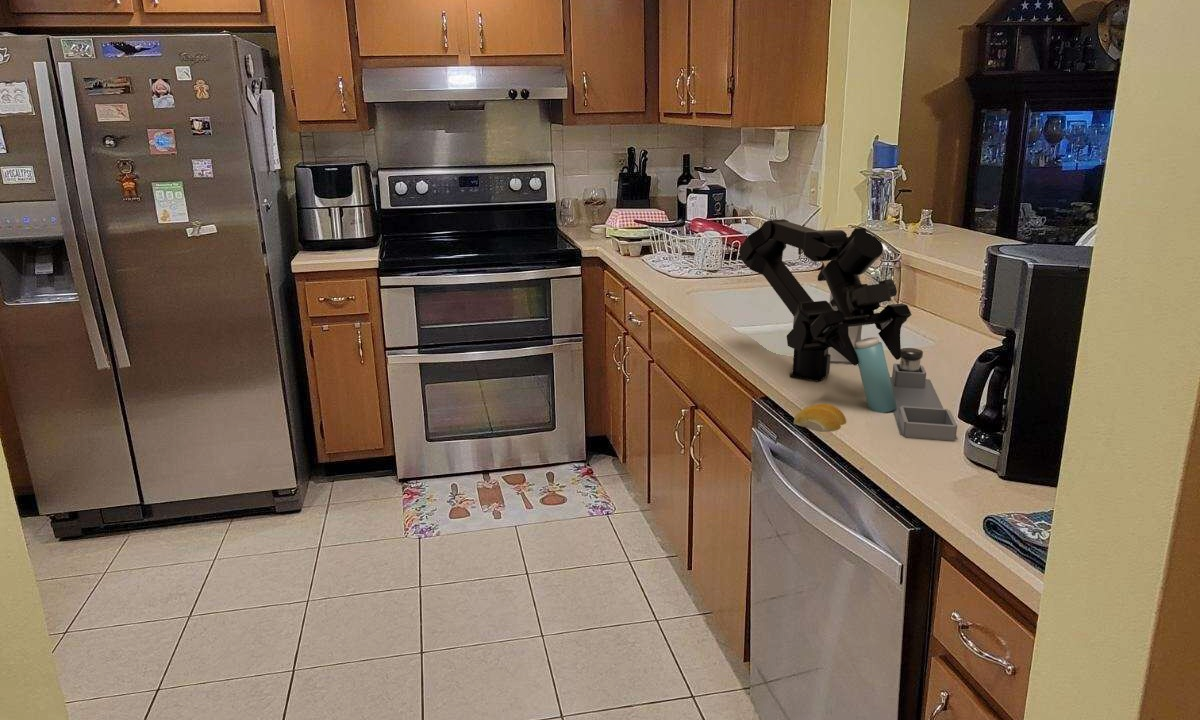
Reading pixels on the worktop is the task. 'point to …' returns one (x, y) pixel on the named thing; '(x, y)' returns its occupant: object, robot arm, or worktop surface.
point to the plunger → (910, 359)
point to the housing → (920, 407)
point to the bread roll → (820, 418)
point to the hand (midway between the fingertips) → (878, 361)
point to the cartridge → (875, 375)
